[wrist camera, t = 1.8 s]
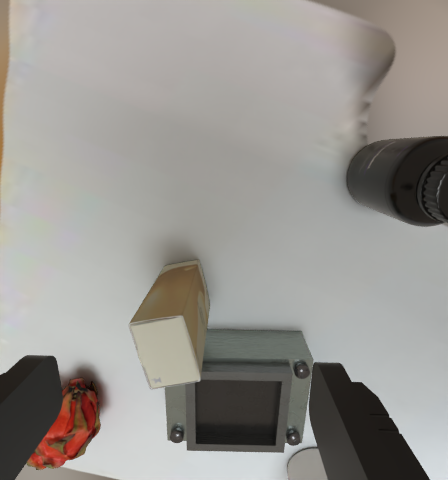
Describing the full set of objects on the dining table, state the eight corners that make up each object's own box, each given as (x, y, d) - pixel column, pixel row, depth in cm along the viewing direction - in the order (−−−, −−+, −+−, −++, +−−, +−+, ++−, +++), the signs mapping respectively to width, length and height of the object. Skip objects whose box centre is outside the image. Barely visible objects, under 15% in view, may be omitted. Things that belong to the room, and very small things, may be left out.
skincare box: (211, 305, 34) (203, 385, 22) (176, 311, 34) (150, 394, 22) (199, 256, 32) (183, 315, 20) (162, 263, 32) (125, 325, 20)
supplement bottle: (352, 136, 28) (441, 124, 16) (419, 143, 28) (553, 136, 17) (337, 204, 30) (407, 235, 18) (400, 210, 30) (508, 245, 19)
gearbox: (301, 331, 34) (317, 370, 28) (292, 406, 38) (305, 456, 32) (172, 328, 34) (160, 366, 28) (175, 404, 38) (165, 453, 32)
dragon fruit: (65, 418, 41) (97, 350, 40) (96, 467, 37) (133, 392, 35) (-4, 449, 34) (32, 366, 32) (25, 514, 30) (68, 422, 28)
